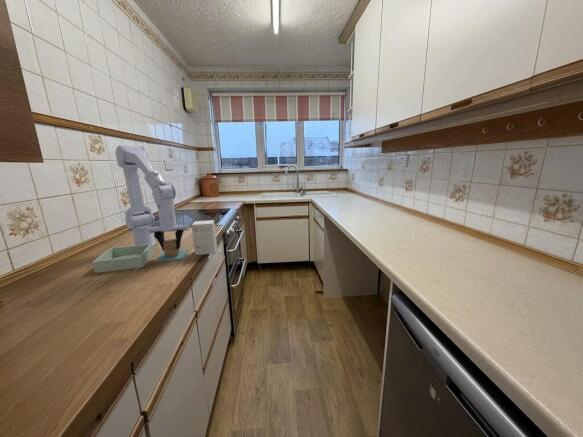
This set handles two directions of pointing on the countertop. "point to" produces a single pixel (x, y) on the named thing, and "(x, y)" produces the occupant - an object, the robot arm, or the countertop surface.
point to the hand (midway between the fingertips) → (171, 248)
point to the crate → (123, 258)
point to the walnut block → (170, 248)
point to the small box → (204, 237)
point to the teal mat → (180, 257)
